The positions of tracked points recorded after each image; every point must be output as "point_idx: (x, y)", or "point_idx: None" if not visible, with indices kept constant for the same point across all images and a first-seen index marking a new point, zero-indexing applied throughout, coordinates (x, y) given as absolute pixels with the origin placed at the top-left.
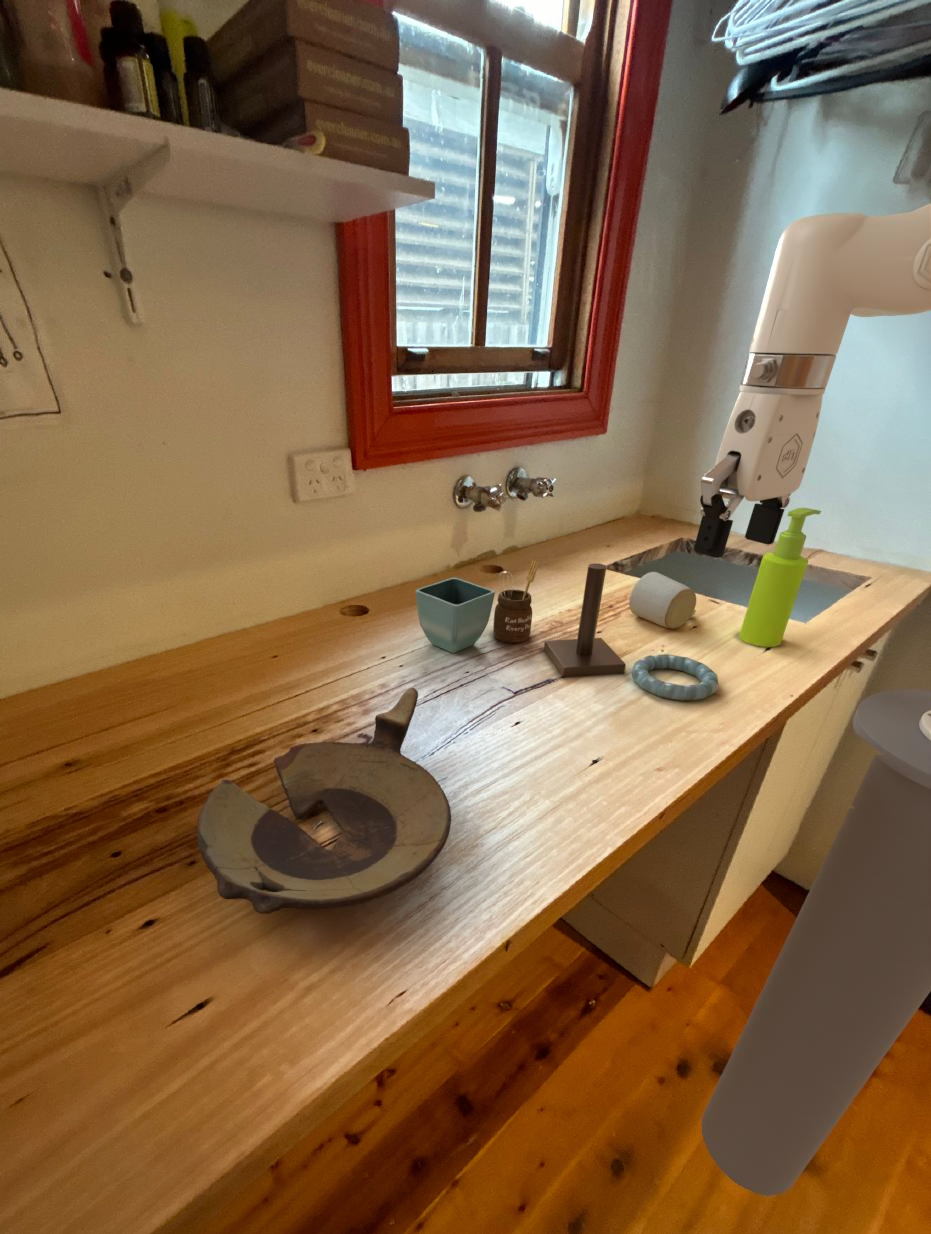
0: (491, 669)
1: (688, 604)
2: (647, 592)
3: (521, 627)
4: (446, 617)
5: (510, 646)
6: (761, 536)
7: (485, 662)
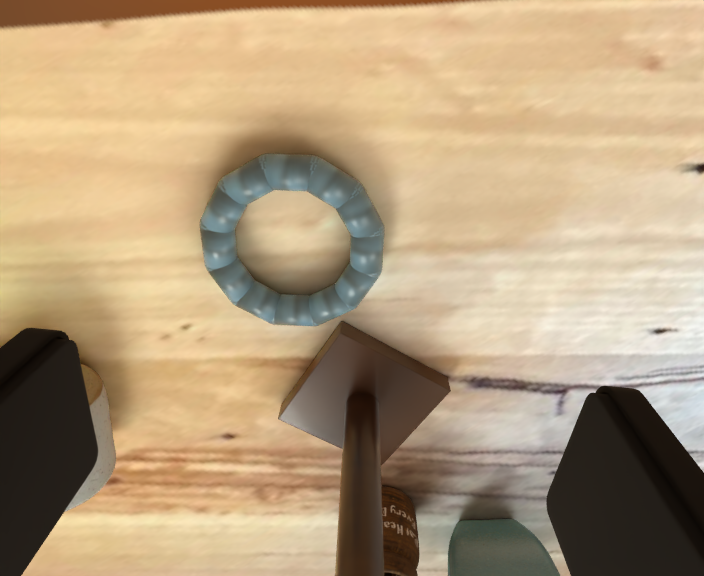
0: (515, 458)
1: None
2: None
3: (395, 513)
4: None
5: (415, 486)
6: (65, 406)
7: (500, 476)
